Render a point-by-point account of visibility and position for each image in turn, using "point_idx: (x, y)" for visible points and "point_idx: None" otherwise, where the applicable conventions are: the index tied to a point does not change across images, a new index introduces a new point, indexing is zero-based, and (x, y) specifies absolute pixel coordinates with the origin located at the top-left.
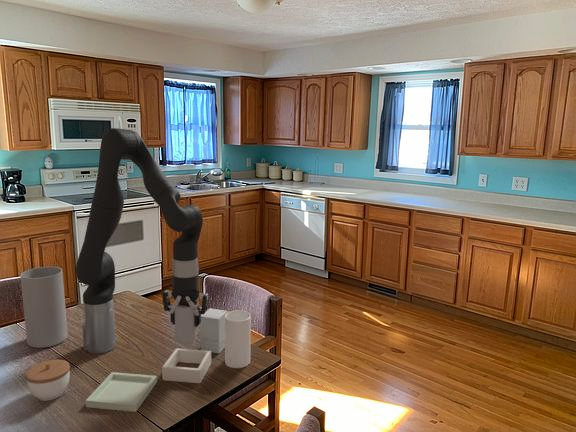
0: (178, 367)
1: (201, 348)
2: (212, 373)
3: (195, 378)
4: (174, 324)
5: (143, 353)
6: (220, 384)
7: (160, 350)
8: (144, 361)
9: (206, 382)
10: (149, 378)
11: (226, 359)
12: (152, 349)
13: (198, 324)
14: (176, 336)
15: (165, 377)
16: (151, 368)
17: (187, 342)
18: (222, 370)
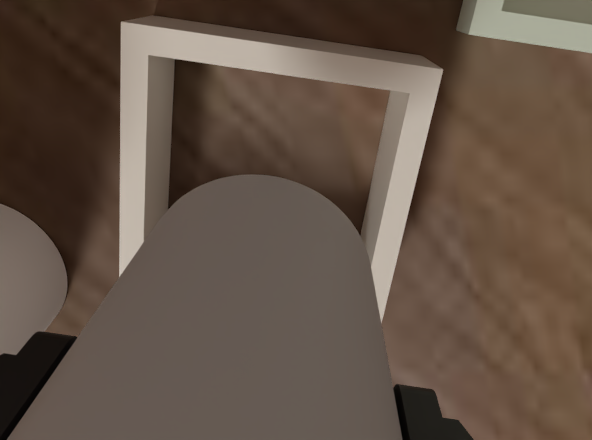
0: (308, 68)
1: None
2: (105, 138)
3: (178, 21)
4: (399, 385)
5: (585, 354)
6: (11, 3)
7: (485, 382)
8: (570, 272)
9: (114, 28)
10: (519, 14)
11: (25, 249)
12: (534, 392)
13: (1, 361)
14: (347, 240)
15: (403, 54)
16: (516, 195)
17: (210, 182)
18: (51, 173)
